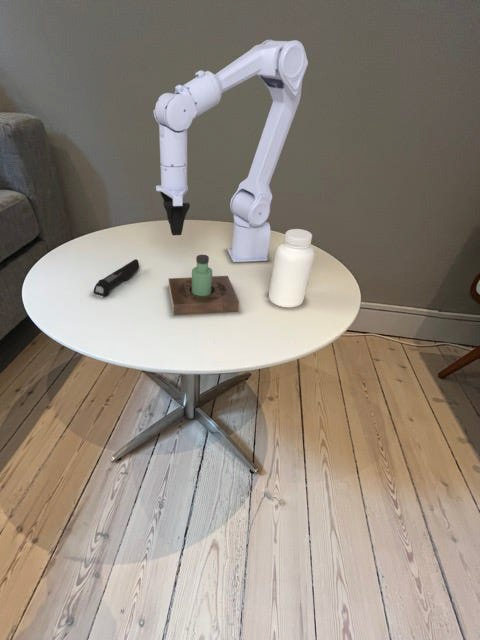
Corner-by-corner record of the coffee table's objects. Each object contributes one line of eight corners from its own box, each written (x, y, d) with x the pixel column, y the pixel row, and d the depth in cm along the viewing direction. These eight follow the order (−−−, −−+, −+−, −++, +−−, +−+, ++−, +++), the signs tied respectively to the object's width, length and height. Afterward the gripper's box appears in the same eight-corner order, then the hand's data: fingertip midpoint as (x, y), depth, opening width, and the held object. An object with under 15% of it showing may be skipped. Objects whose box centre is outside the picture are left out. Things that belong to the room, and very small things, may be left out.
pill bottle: (282, 311, 84) (296, 243, 74) (261, 295, 89) (271, 229, 79) (310, 303, 87) (327, 237, 76) (288, 288, 92) (301, 223, 82)
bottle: (209, 294, 89) (211, 252, 82) (212, 304, 86) (214, 261, 79) (190, 295, 89) (190, 253, 82) (192, 305, 85) (193, 262, 79)
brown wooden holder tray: (227, 285, 92) (227, 275, 91) (237, 311, 84) (239, 301, 82) (168, 288, 91) (168, 278, 89) (173, 315, 82) (173, 304, 80)
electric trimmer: (143, 272, 97) (143, 260, 95) (105, 298, 87) (104, 285, 85) (131, 269, 99) (130, 256, 97) (92, 294, 88) (90, 281, 86)
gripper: (152, 156, 87) (155, 218, 96) (157, 173, 76) (160, 241, 85) (183, 155, 88) (183, 217, 97) (192, 172, 77) (191, 240, 86)
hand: (174, 228), depth 91 cm, fingers open, 7 cm apart
